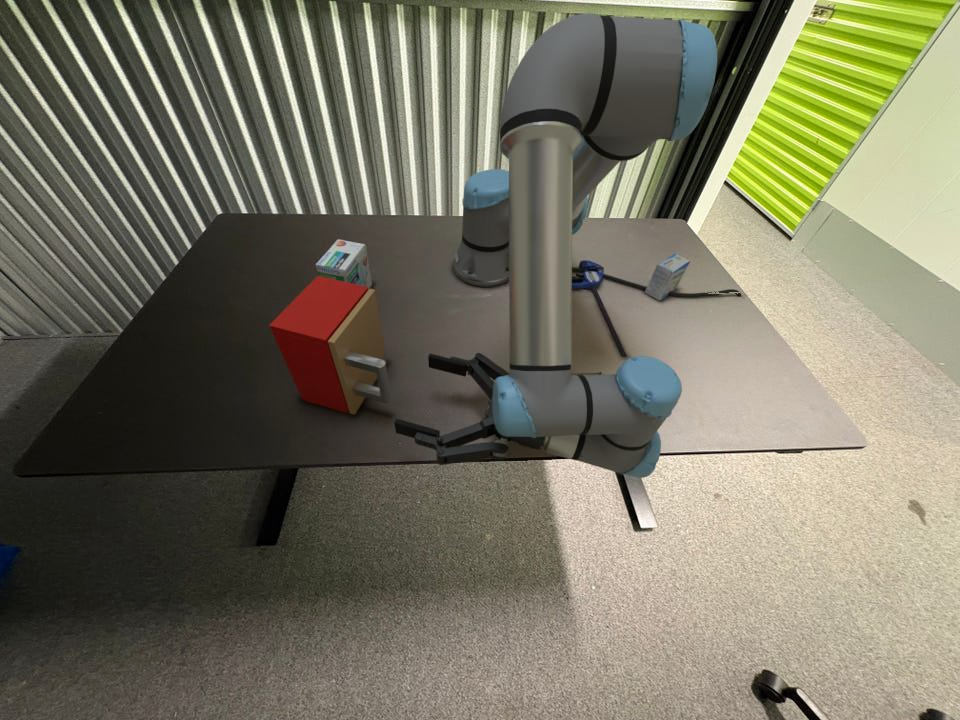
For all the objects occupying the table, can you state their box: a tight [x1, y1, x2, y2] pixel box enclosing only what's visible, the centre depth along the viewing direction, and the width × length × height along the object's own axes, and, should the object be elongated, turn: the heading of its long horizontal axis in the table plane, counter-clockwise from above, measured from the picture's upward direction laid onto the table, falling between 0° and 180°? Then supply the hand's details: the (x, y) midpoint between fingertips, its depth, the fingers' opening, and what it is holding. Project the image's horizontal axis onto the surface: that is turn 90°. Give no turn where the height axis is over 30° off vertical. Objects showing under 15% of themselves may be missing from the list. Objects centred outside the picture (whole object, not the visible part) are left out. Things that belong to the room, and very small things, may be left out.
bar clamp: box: [572, 259, 627, 358], centre depth 93 cm, size 32×2×10 cm
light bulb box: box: [315, 238, 373, 290], centre depth 86 cm, size 11×7×11 cm, turn 168°
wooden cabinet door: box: [328, 288, 392, 416], centre depth 66 cm, size 7×13×18 cm, turn 164°
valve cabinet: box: [268, 275, 368, 414], centre depth 67 cm, size 9×13×18 cm
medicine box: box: [644, 253, 691, 302], centre depth 96 cm, size 8×4×9 cm, turn 131°
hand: (413, 390), depth 62 cm, fingers open, 13 cm apart
